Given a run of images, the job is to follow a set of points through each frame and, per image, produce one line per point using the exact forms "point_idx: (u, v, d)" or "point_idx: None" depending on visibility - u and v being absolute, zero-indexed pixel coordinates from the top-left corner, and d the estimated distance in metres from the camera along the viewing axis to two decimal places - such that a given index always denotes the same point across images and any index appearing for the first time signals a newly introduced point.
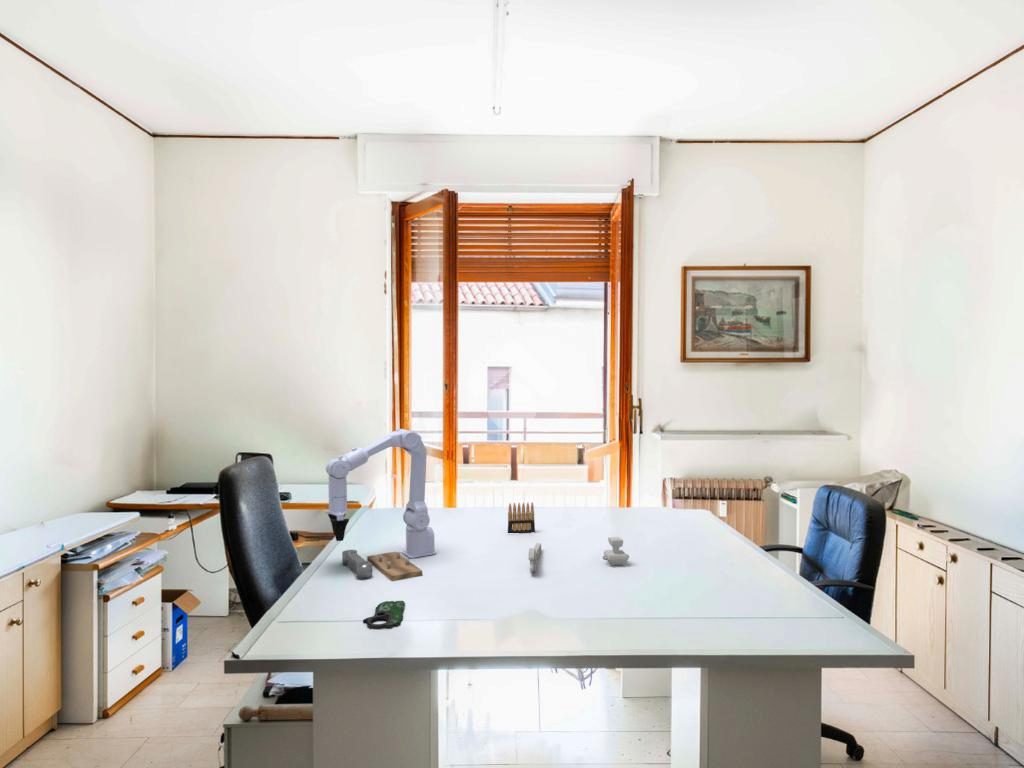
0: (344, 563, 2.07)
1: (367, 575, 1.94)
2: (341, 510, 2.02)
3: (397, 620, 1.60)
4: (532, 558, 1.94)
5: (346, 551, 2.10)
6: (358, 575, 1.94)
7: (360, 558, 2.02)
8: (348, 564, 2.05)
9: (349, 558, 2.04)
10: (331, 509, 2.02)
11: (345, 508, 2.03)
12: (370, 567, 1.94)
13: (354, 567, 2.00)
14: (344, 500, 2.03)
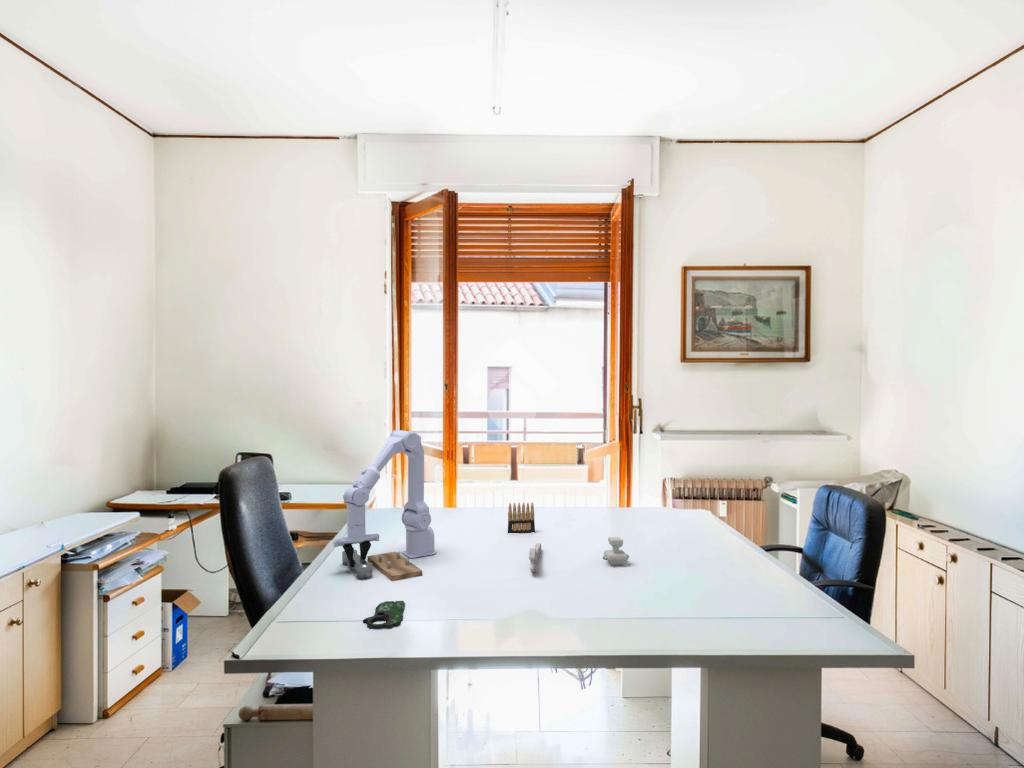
0: (344, 563, 2.07)
1: (367, 575, 1.94)
2: (348, 538, 2.00)
3: (396, 619, 1.60)
4: (533, 558, 1.94)
5: None
6: (358, 575, 1.94)
7: (360, 558, 2.02)
8: (348, 564, 2.05)
9: None
10: None
11: (352, 538, 1.99)
12: (370, 567, 1.94)
13: (354, 567, 2.00)
14: (351, 529, 2.00)
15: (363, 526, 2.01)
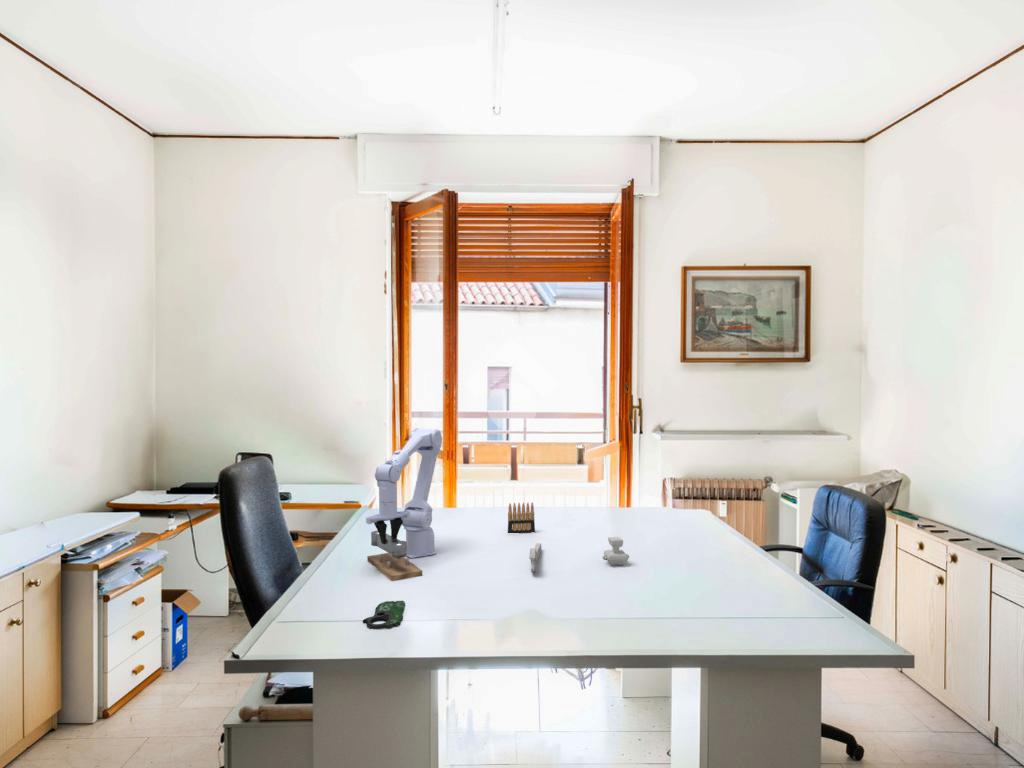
0: (374, 543, 2.09)
1: (403, 553, 1.96)
2: (381, 515, 2.02)
3: (396, 619, 1.60)
4: (533, 558, 1.94)
5: (375, 532, 2.11)
6: (394, 553, 1.96)
7: (392, 537, 2.04)
8: (378, 544, 2.07)
9: None
10: None
11: (385, 514, 2.01)
12: (405, 545, 1.97)
13: (387, 546, 2.01)
14: (384, 506, 2.01)
15: (395, 503, 2.03)
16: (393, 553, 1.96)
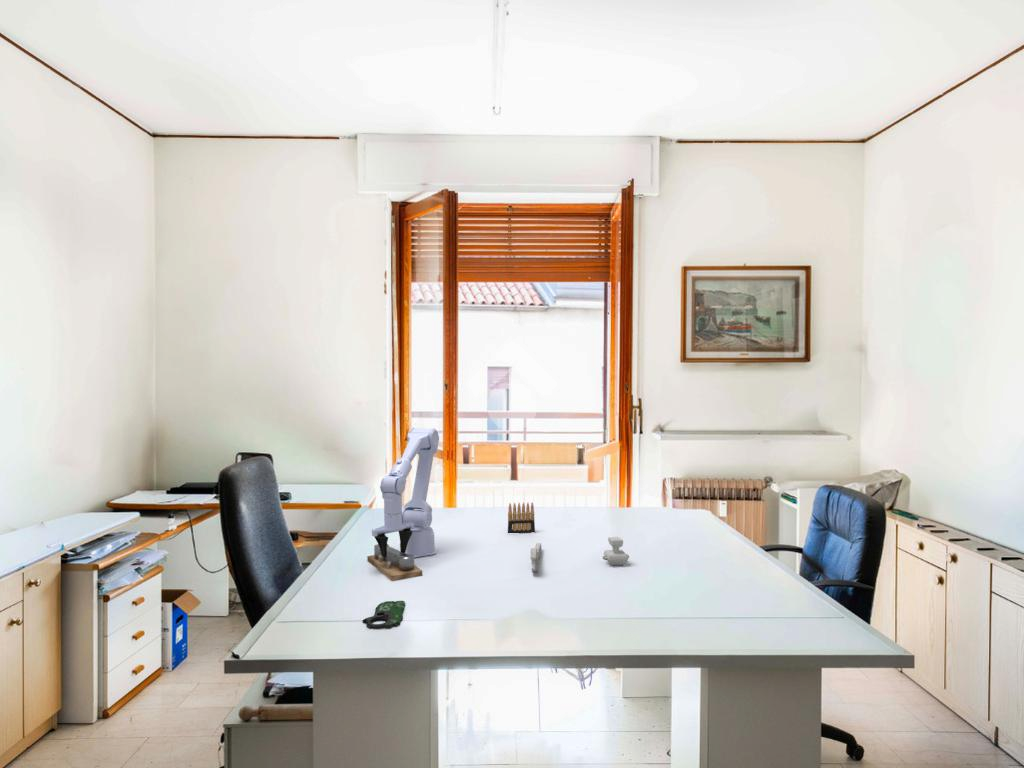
0: (377, 557, 2.09)
1: (410, 566, 1.97)
2: (387, 527, 2.02)
3: (396, 619, 1.59)
4: (534, 558, 1.94)
5: (378, 545, 2.11)
6: (401, 567, 1.96)
7: (397, 551, 2.04)
8: (383, 558, 2.07)
9: None
10: None
11: (391, 526, 2.01)
12: (413, 558, 1.98)
13: (393, 560, 2.02)
14: (390, 517, 2.02)
15: (401, 515, 2.04)
16: (401, 567, 1.97)
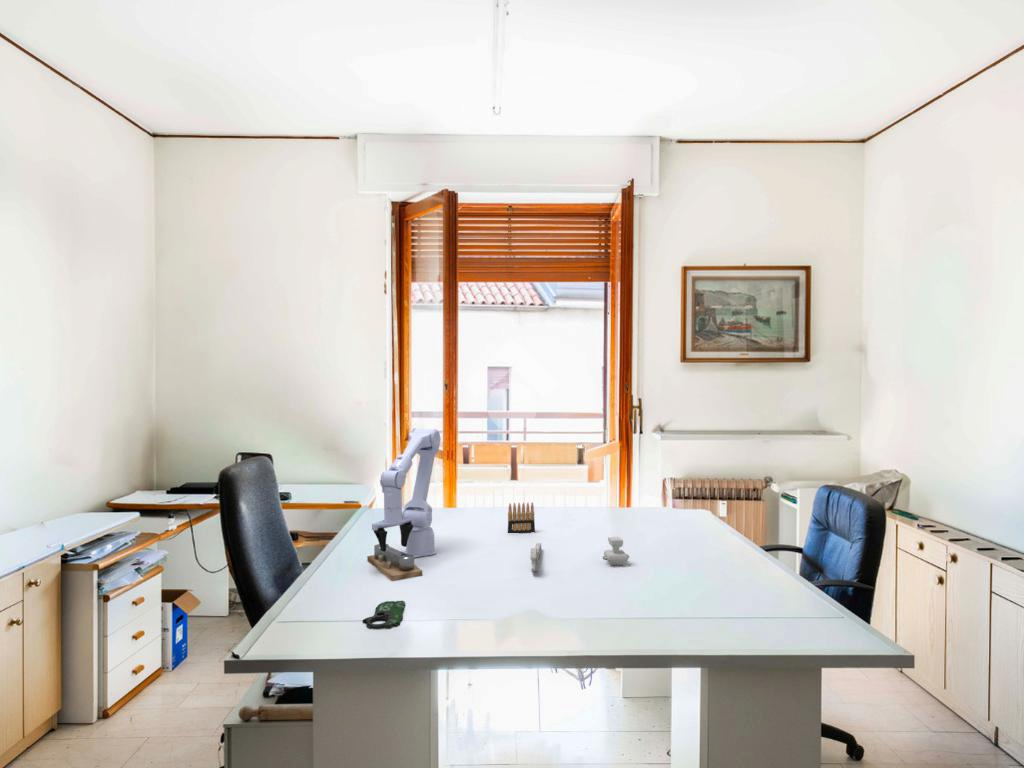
0: (377, 557, 2.09)
1: (410, 566, 1.97)
2: (386, 521, 2.02)
3: (396, 620, 1.59)
4: (534, 558, 1.94)
5: (378, 545, 2.11)
6: (401, 567, 1.96)
7: (397, 551, 2.04)
8: (383, 558, 2.07)
9: (384, 551, 2.06)
10: None
11: (391, 520, 2.01)
12: (413, 558, 1.98)
13: (393, 560, 2.02)
14: (390, 512, 2.01)
15: (401, 509, 2.03)
16: (401, 567, 1.97)
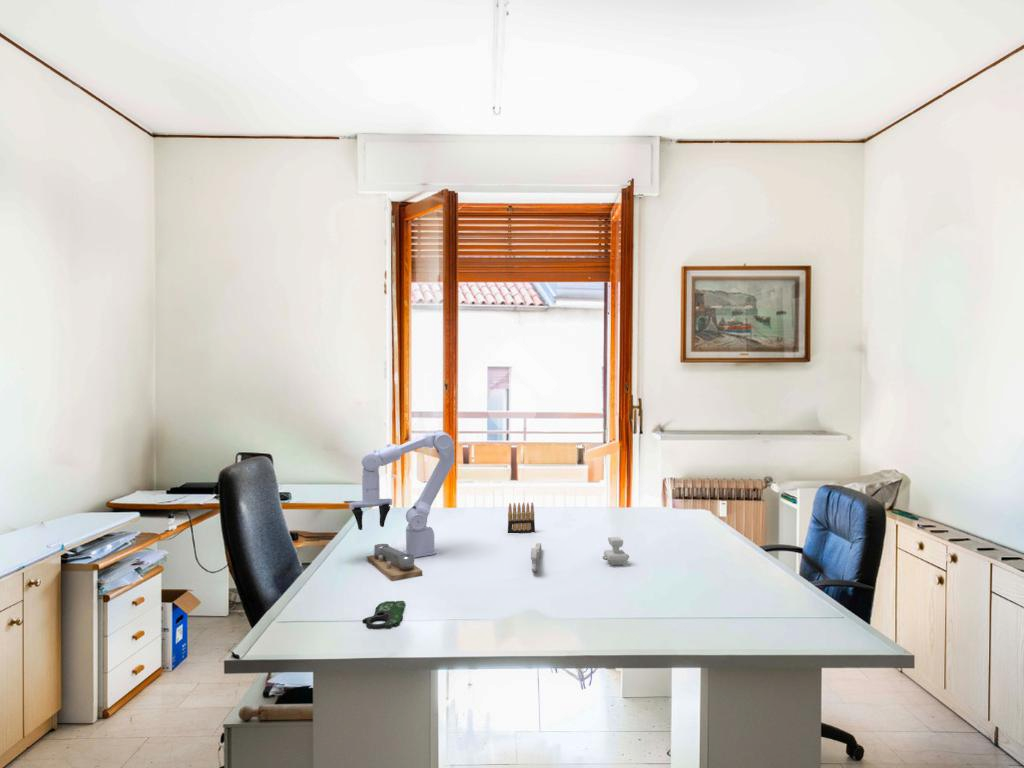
0: (377, 557, 2.09)
1: (410, 566, 1.97)
2: (363, 501, 2.12)
3: (396, 620, 1.59)
4: (534, 558, 1.94)
5: (378, 545, 2.11)
6: (401, 567, 1.96)
7: (397, 551, 2.04)
8: (383, 558, 2.07)
9: (384, 551, 2.06)
10: None
11: (368, 501, 2.12)
12: (413, 558, 1.98)
13: (393, 560, 2.02)
14: (366, 492, 2.12)
15: (377, 490, 2.13)
16: (401, 567, 1.97)
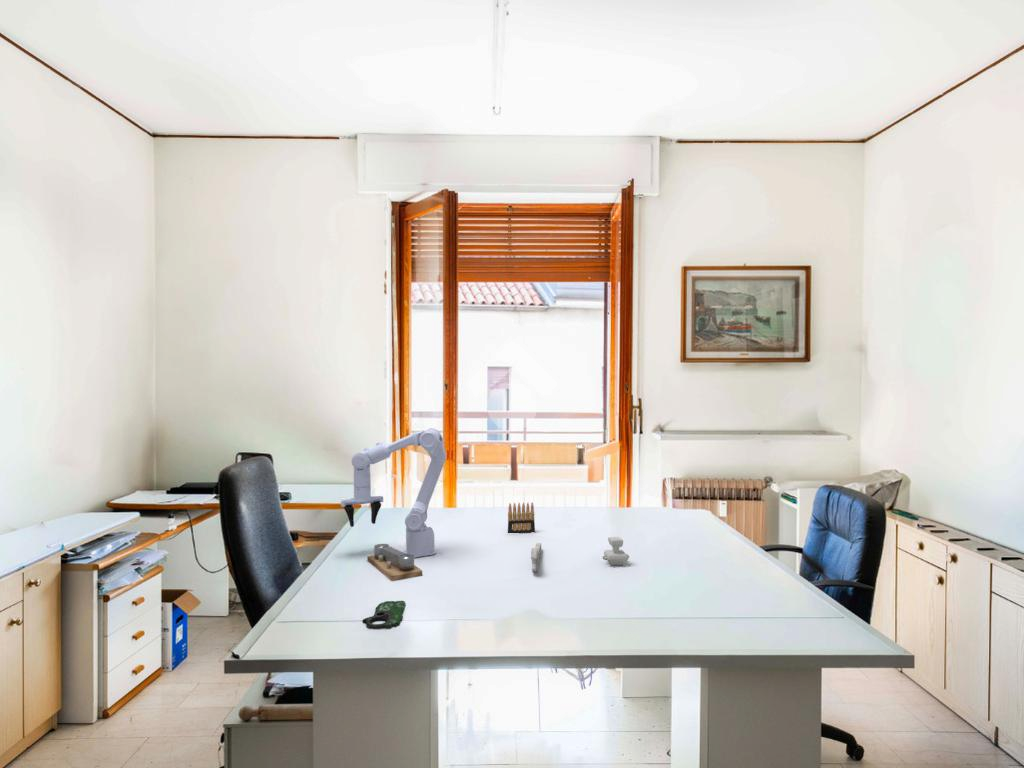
0: (377, 557, 2.09)
1: (410, 566, 1.97)
2: (355, 499, 2.17)
3: (396, 620, 1.59)
4: (535, 558, 1.94)
5: (378, 545, 2.11)
6: (401, 567, 1.96)
7: (397, 551, 2.04)
8: (383, 558, 2.07)
9: (384, 551, 2.06)
10: None
11: (359, 498, 2.17)
12: (413, 558, 1.98)
13: (393, 560, 2.02)
14: (357, 490, 2.17)
15: (368, 488, 2.18)
16: (401, 567, 1.97)
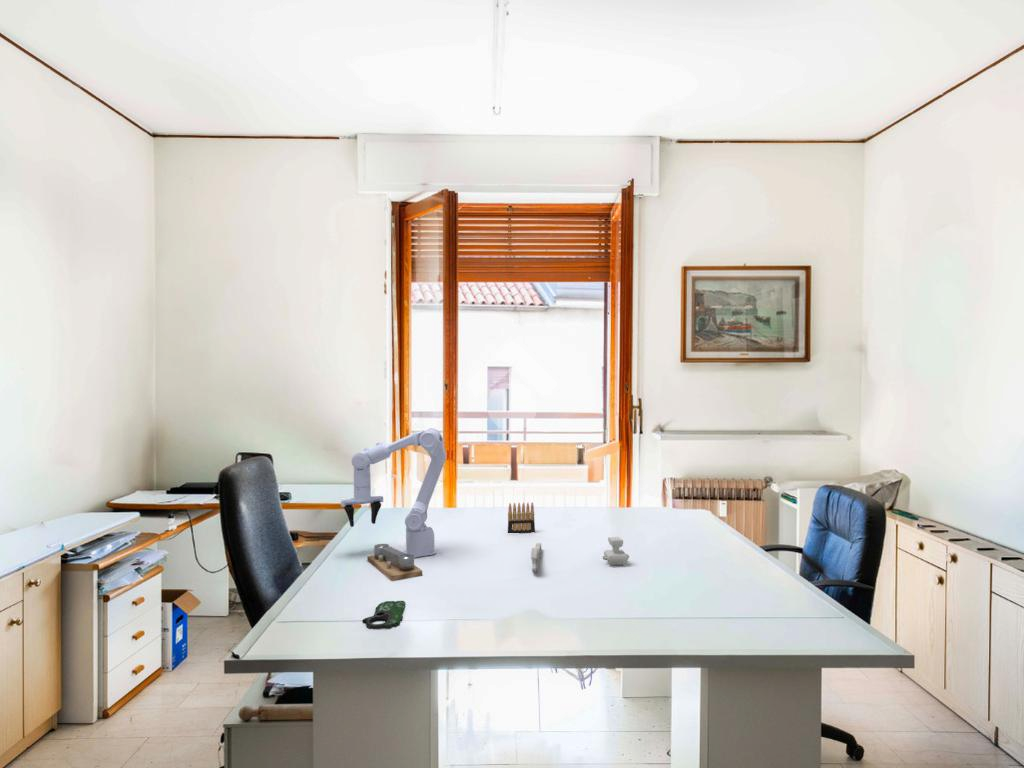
0: (377, 557, 2.09)
1: (410, 566, 1.97)
2: (355, 499, 2.17)
3: (396, 620, 1.59)
4: (535, 558, 1.94)
5: (378, 545, 2.11)
6: (401, 567, 1.96)
7: (397, 551, 2.04)
8: (383, 558, 2.07)
9: (384, 551, 2.06)
10: None
11: (359, 498, 2.17)
12: (413, 558, 1.98)
13: (393, 560, 2.02)
14: (357, 490, 2.17)
15: (368, 488, 2.18)
16: (401, 567, 1.97)
